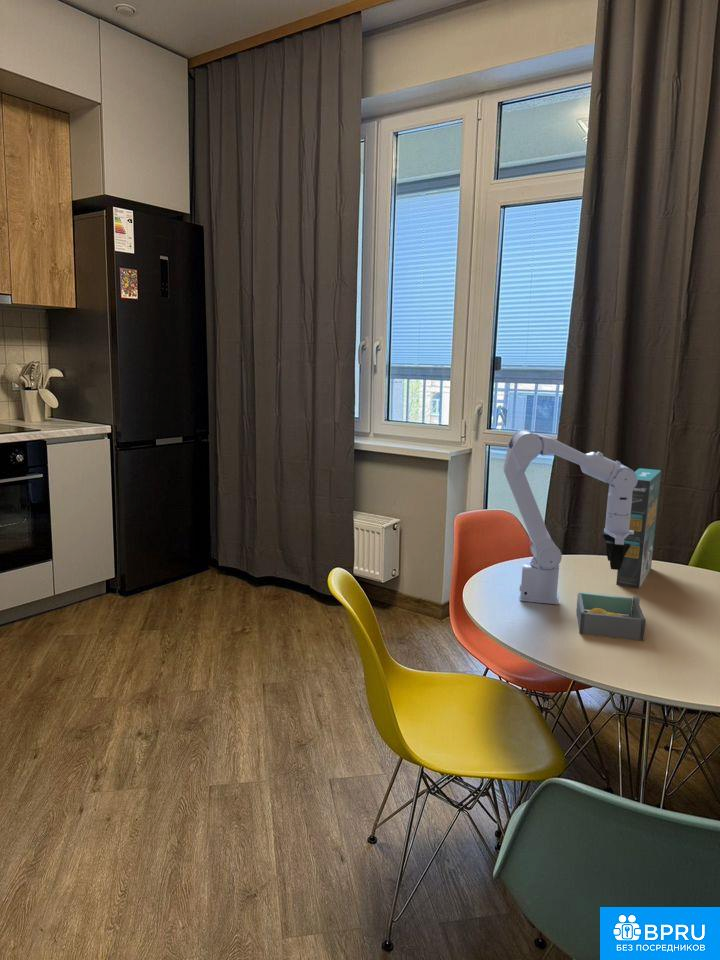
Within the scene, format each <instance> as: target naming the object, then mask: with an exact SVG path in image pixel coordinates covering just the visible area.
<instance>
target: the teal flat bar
mask: <svg viewBox="0 0 720 960" xmlns="http://www.w3.org/2000/svg"><path fill="white" fill-rule="evenodd" d="M578 594H581V595H582V600H583V606H584V611H587V610H588V611H590V610H591V609H594V608H601V609H604V610H605V611H607V612H608V613H609V612H612V613H616V614H619V615H626V616H629V615H632V610H633V600H634V599H636V600H637V601H638V603H639V605H640V604H641V603H640V601H641V597H639V596H633V597H626V596H616V595H609V594H600V593H592V592H583V591H578Z"/></svg>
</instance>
